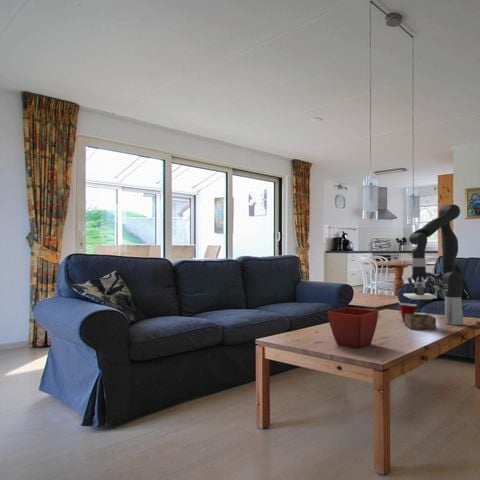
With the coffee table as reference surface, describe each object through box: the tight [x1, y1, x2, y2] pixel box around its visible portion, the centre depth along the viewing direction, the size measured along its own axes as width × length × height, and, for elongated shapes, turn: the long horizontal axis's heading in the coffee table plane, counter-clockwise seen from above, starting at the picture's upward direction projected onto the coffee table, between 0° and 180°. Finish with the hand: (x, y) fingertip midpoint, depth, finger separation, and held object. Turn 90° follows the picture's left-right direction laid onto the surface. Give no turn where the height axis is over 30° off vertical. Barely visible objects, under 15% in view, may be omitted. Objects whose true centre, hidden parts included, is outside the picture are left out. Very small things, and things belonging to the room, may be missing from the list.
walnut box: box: [404, 313, 437, 331], centre depth 252 cm, size 14×14×7 cm
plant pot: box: [327, 307, 379, 349], centre depth 211 cm, size 19×19×17 cm
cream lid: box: [403, 285, 438, 300], centre depth 252 cm, size 15×15×7 cm
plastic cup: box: [398, 302, 418, 323], centre depth 270 cm, size 11×11×12 cm
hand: (419, 293), depth 252 cm, fingers closed on cream lid, 3 cm apart
